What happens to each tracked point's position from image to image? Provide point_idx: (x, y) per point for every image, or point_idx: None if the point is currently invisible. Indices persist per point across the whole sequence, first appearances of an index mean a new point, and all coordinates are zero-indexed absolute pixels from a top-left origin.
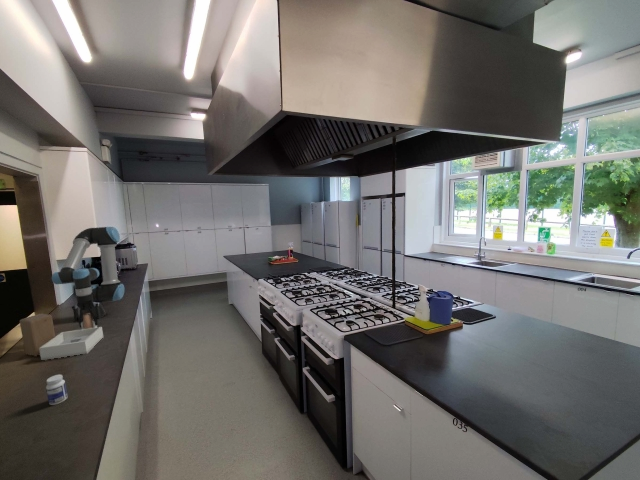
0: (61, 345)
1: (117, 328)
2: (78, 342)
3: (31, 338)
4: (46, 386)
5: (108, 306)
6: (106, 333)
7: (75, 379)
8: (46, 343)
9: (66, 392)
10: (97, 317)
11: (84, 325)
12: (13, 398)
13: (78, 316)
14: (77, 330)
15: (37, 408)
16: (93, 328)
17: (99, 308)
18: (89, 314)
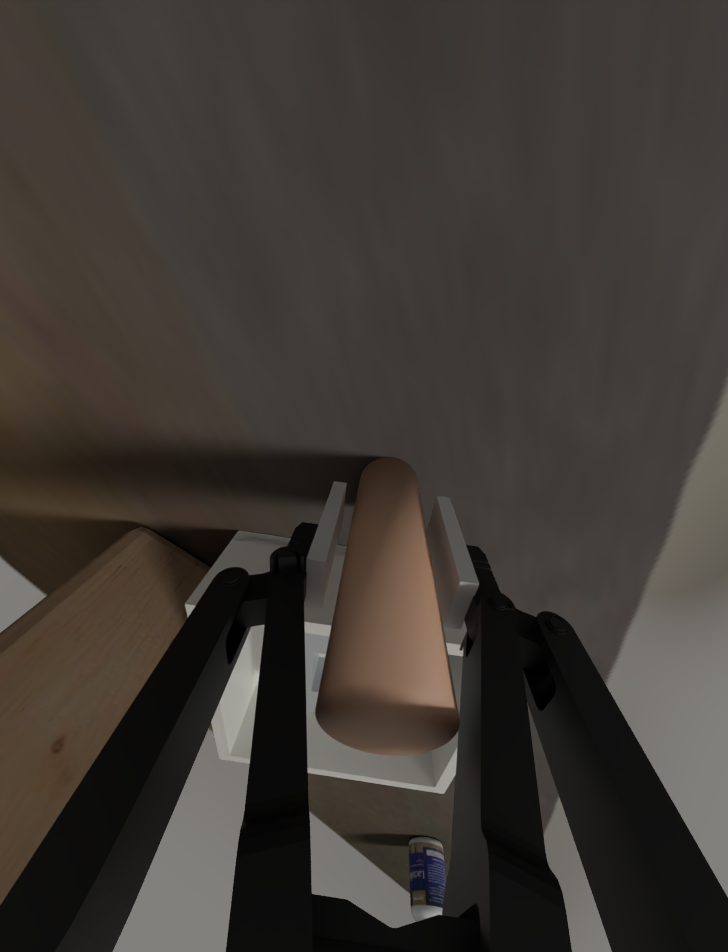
0: (326, 771)
1: (608, 410)
2: (410, 788)
3: None
4: (412, 915)
5: None
6: (507, 492)
7: (438, 805)
8: (217, 729)
9: (444, 867)
10: (528, 679)
11: (334, 533)
12: (314, 804)
13: (222, 642)
14: (321, 633)
15: (390, 841)
16: (455, 654)
17: (715, 882)
18: (432, 748)
